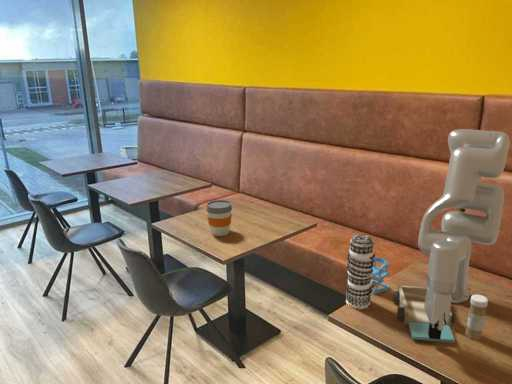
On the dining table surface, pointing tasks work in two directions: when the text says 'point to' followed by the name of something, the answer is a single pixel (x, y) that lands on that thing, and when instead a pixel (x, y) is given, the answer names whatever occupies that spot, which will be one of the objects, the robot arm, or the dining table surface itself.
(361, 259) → the black white patterned cylinder
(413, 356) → the dining table surface
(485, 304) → the sprinkles bottle
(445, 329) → the tailgate
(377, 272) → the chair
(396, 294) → the cargo bed
